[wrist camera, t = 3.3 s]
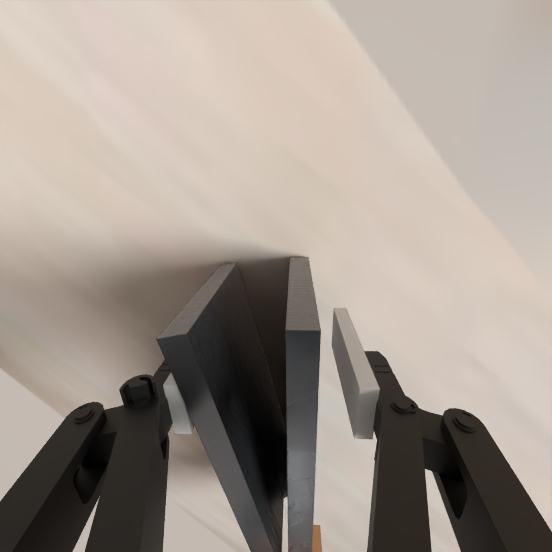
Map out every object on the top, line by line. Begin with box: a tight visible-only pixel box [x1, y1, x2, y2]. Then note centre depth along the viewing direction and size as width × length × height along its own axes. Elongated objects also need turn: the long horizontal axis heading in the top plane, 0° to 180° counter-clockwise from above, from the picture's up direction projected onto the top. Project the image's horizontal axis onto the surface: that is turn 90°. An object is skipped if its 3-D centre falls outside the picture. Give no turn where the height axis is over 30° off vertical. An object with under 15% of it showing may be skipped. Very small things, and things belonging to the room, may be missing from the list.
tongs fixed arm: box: [284, 257, 321, 552], centre depth 17 cm, size 22×3×9 cm, turn 1°
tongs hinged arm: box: [156, 262, 286, 552], centre depth 16 cm, size 15×1×9 cm, turn 13°
